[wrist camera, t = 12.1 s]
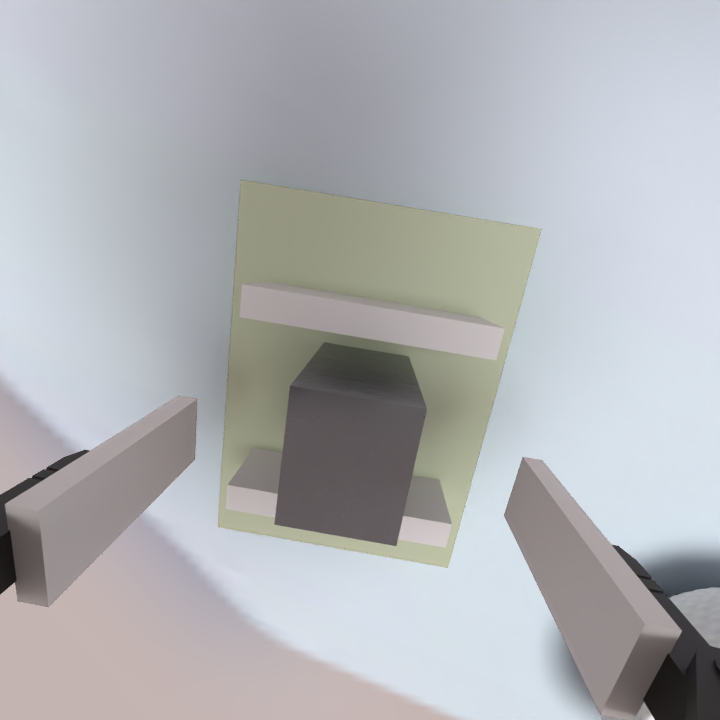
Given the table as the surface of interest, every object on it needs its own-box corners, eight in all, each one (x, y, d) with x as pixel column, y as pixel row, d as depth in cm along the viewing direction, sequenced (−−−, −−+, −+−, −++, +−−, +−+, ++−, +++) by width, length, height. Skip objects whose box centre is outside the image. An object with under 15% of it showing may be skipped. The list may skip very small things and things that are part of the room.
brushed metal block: (324, 342, 20) (290, 385, 13) (409, 356, 20) (427, 409, 12) (311, 434, 22) (274, 524, 14) (390, 448, 22) (396, 546, 14)
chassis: (251, 186, 20) (203, 155, 14) (529, 232, 20) (585, 217, 14) (227, 512, 25) (186, 576, 20) (443, 550, 25) (461, 625, 20)
